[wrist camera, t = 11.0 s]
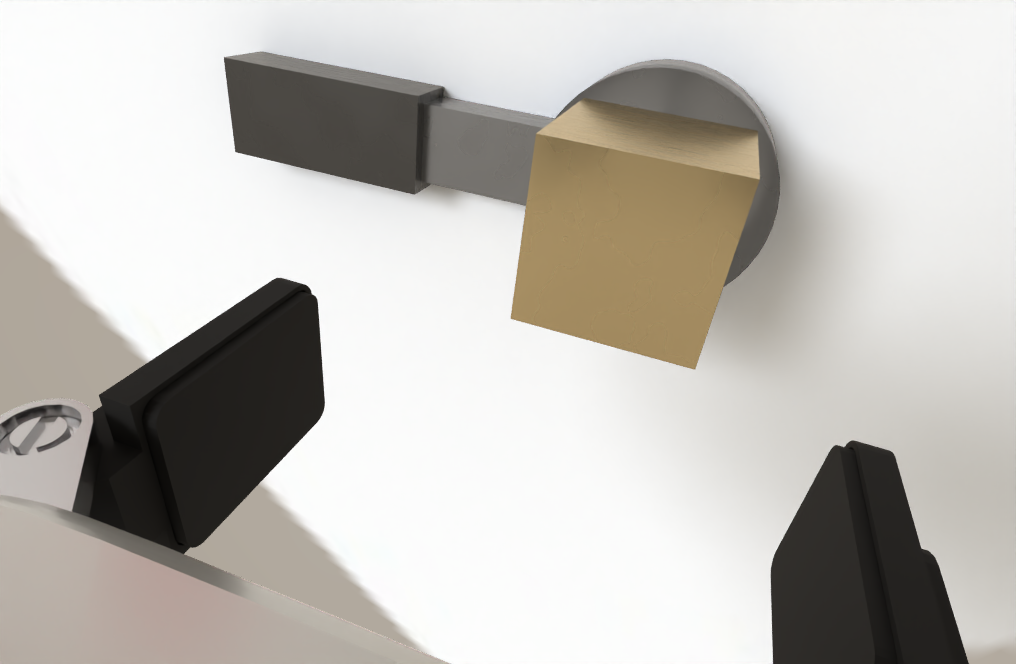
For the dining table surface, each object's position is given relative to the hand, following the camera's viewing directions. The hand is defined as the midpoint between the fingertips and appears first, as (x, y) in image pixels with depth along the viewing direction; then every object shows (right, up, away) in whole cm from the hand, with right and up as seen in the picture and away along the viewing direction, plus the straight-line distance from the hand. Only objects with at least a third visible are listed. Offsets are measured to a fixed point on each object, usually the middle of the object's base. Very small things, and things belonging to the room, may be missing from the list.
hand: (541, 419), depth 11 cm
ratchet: (-1, +10, +15) cm, 18 cm away
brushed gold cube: (+5, +7, +12) cm, 14 cm away
